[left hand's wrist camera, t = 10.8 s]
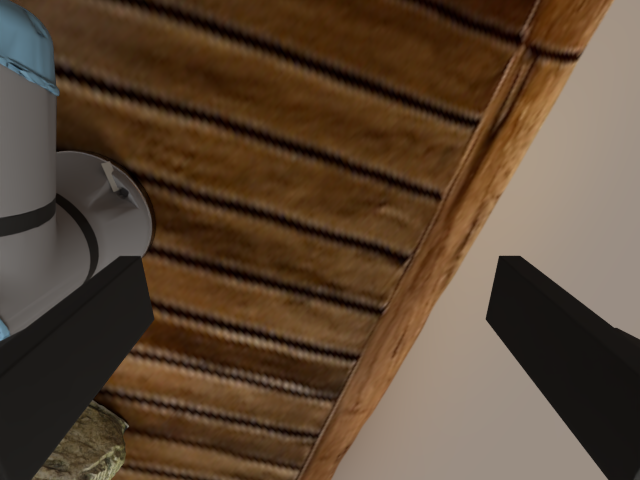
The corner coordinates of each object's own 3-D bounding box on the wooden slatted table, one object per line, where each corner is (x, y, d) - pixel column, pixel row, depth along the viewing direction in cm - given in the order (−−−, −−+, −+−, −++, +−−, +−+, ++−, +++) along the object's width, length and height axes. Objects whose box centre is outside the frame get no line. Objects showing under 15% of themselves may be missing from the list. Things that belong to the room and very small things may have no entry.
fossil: (134, 447, 56) (73, 561, 42) (16, 412, 53) (-92, 522, 39) (147, 410, 53) (86, 520, 39) (23, 371, 50) (-91, 475, 36)
